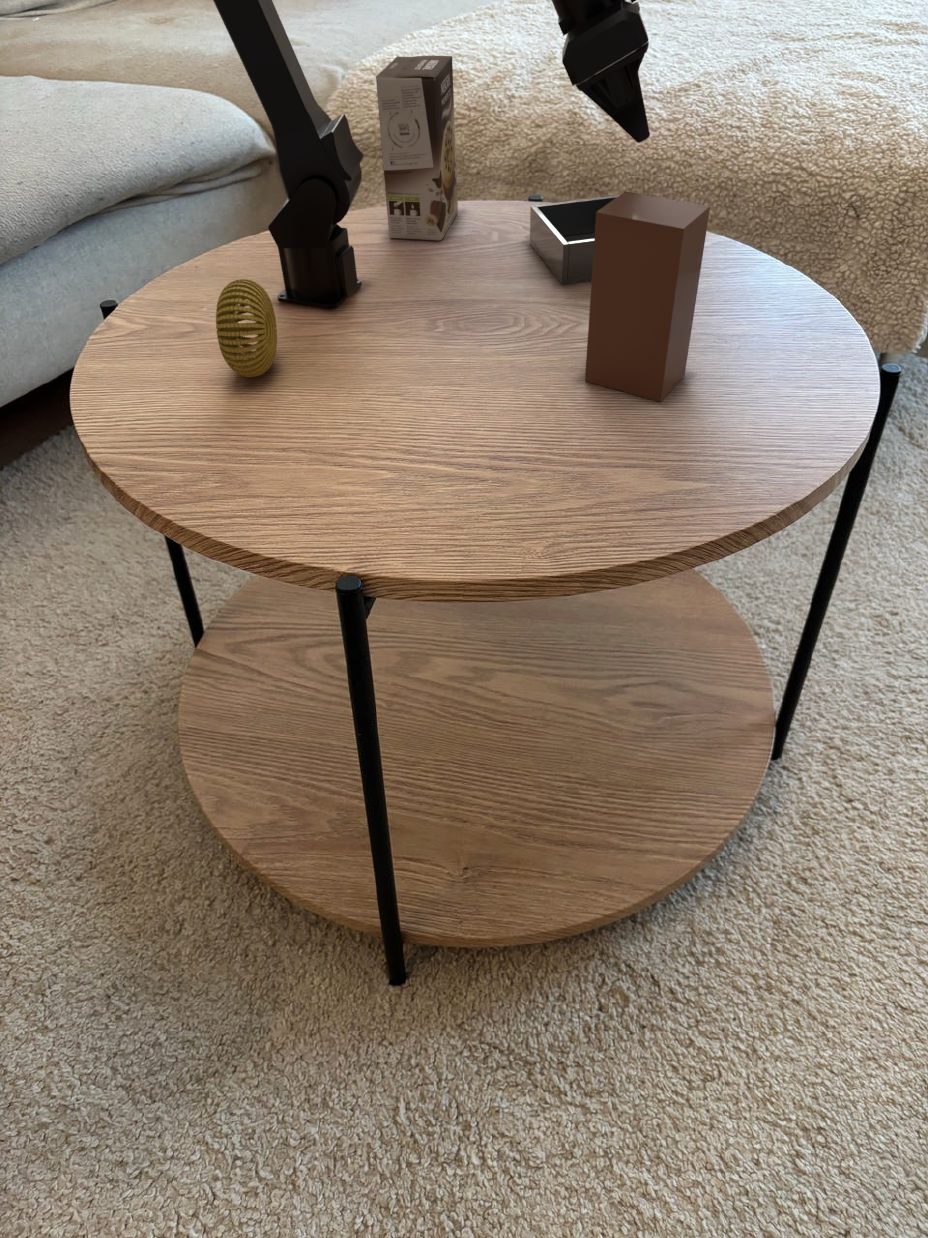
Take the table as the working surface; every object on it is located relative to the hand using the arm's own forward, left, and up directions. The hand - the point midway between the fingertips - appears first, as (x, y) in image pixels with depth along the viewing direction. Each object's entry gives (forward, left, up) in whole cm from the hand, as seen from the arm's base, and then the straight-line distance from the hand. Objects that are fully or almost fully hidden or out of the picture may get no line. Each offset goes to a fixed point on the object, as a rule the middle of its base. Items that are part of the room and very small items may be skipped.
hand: (641, 122), depth 78 cm
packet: (+5, -16, -15) cm, 22 cm away
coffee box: (-26, +11, -16) cm, 33 cm away
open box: (-5, +8, -15) cm, 18 cm away
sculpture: (-27, -25, -16) cm, 40 cm away
